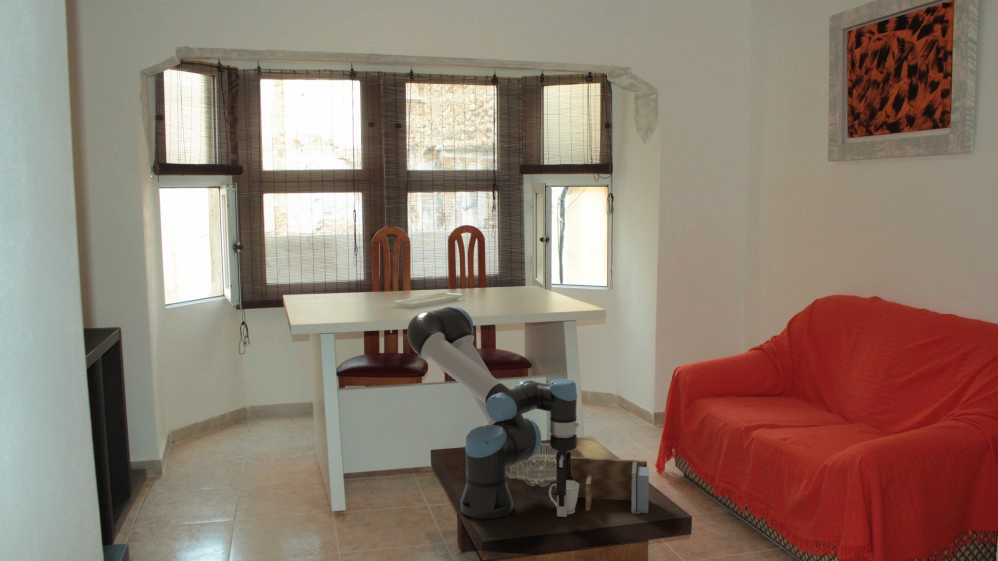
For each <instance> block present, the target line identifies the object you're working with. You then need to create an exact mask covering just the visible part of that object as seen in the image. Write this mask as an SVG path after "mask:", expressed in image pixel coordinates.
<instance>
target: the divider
mask: <svg viewBox="0 0 998 561" xmlns="http://www.w3.org/2000/svg"><path fill="white" fill-rule="evenodd" d="M592 503H593V498H592V474H588V476H587V481H586V498H585V511H591V506H592Z"/></svg>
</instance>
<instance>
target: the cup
mask: <svg viewBox="0 0 998 561" xmlns="http://www.w3.org/2000/svg"><path fill="white" fill-rule="evenodd" d="M579 485H580V484H579V483H577V482H576V481H572V480H566V494H567V515H570V514H571V515H572V514H574V513H575V512H576V509H575V508H576V507H577V502H578V498H579V497H578V492H579ZM553 487H556V483H552V484H551V485H550V486H549V489H548V497H549V499H550V501H551V502H552V503H553V505H554V506H555V507H556V508H557V501H555V499H554V498H553V495H552V488H553Z"/></svg>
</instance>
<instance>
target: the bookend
mask: <svg viewBox="0 0 998 561" xmlns="http://www.w3.org/2000/svg"><path fill="white" fill-rule="evenodd" d="M630 508H631V509H630V510H631V514H636V515H637V514H638V515H640V514H641V513H640V510H637V462H633V465H632V500H631V507H630Z"/></svg>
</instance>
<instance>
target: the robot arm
mask: <svg viewBox="0 0 998 561" xmlns="http://www.w3.org/2000/svg"><path fill="white" fill-rule="evenodd" d="M473 326H474V321H473V320H472V317H471V315H470V314H469V313H468V312H467V311H466V310H465V309H463V308H462V307H461V308H460V307H457V306H452V307H451V306H447V307H444V308H440V309H434V310H429V311H423V312H420V313H418V314H417V315H415V316H413V317H412V319H411V320H410V321H409V323H408V325H407V329H406V336H407V341H408V343H409V345H410V347H411V349H412V350H413V351H414V352H415V353H416V354H417V355H418V356H419V357H420V358H421V359H423V360H425V361H431V362H432V363H433V364H434V365H436V366H437V367H438V368H440V370H442V371H443V372H445V373H446V374H447V375H448V376H449V377H451V378H452V379H453V380H455V381H456V382H457V383H459V384H460V385H461V386H462V387H463V388H465V389H466V390H467V391H468V392H469V393H470V396H471V398H472V399H473V400H474V402H475V404H476V405H477V407H478V408H479V411H480V412H481V413H482V415H483V417H484V419H485V421H486V422H487V425H484V426H483V425H480V426H478V427H475V428H473V429H471V430H470V431H469V432H468V433H467V435H466V437H465V445H464V446H465V447H464V451H465V477H466V478H465V479H466V480H465V481H466V483H465V486H464V490H463V493H462V496H461V499H460V512H461V513H462V514H463V515H465V516H466V517H469V518H472V519H479V520H493V519H499V518H502V517H503V518H504V517H505V516H508V515H509V514H510V513H511V512H513V509H514V508H513V507H514V506H513V504H514V503H513V498H512V495H511V492H510V489H509V487H508V483H507V468H509V467H512V466H514V465H516V464H519V463H521V462H524V461H527V460H529V459H530V458H531V457H533V456H535V455H536V454H537V453H538V452H539V449H540V448H541V441H542V434H541V430H540V427H539V425H538V424H537V423H536V422H535V421H534V419H530V418H529V417H524V416H523V414H525V413H528V412H531V411H533V410H534V411H535V410H542V411H545V412H549V416H550V418H549V432H550V436H549V438H550V440H549V441H550V448H552V449H553V450H556V452H557V453H556V454H555V460H556V462H555V463H556V466H555V467H556V483H555V484H556V486H555V491H554V493H553V494H554V496H556V503H557V507H556V517H560V518H562V517H564V518H567V517H568V514H567V494H566V480H573V477H570V476H571V466H570V462H571V457H572V452H571V451H572V450H574V449H576V448H577V447H578V446H577V445H578V444H577V443H578V441H577V432H578V431H577V429H578V427H579V426H580V424H579V422H577V403H578V402H577V401H578V395H577V384H576V382H575V381H574V380H573V379H569V378H555V379H552V380H551V382H550V383H549V384H547V383H542V382H536V381H533V380H524V379H523V380H520V381H518V383H517V384H516V385H515V386H514V388H511V389H510V388H509V387H508V386H506V385H505V384H504V383H503V382H501V381H500V380H498V379H497V378H496V377H495V376H493V375H492V373H491V371H490V370H489V368H488V367H487V365H486V363H485V362H484V360H483V358H482V357H481V355H480V354H479V352H478V350H477V349H476V347H475V346H474V341H475V336H474V334H473V333H474V329H475V328H474V327H473Z"/></svg>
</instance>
